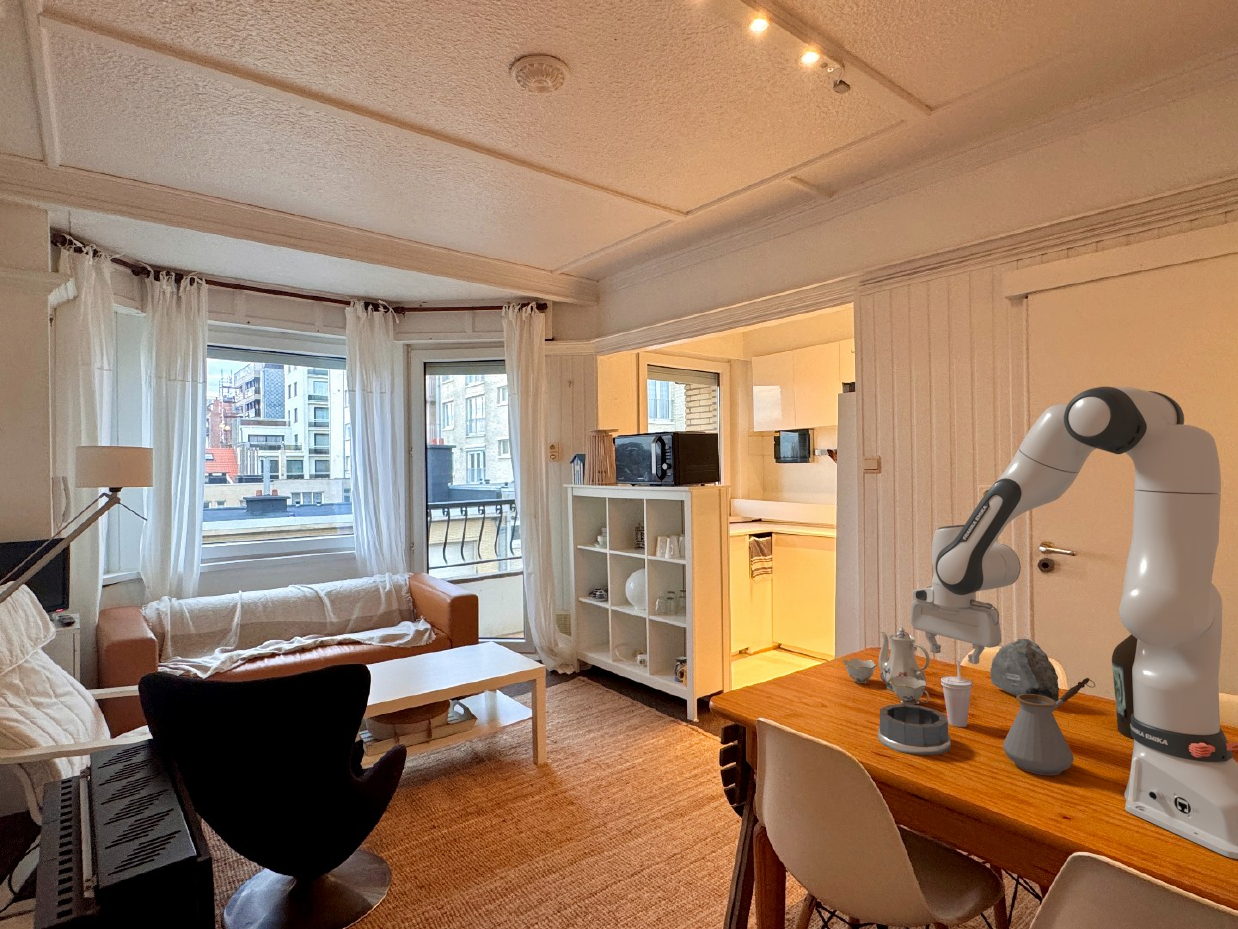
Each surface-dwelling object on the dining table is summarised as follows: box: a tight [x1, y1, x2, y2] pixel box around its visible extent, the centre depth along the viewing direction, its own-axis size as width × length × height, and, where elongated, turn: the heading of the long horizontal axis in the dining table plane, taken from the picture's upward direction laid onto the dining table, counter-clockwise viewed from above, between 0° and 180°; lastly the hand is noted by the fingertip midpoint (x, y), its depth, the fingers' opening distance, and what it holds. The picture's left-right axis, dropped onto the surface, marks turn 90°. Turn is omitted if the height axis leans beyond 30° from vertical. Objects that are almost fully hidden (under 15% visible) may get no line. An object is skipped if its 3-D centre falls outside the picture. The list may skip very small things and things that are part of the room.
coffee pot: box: [1002, 677, 1096, 776], centre depth 128 cm, size 21×12×15 cm, turn 111°
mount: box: [877, 703, 952, 757], centre depth 139 cm, size 14×14×6 cm
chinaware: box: [842, 626, 931, 705], centre depth 171 cm, size 28×17×17 cm, turn 25°
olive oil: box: [1111, 634, 1138, 740], centre depth 140 cm, size 11×11×25 cm
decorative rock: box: [989, 638, 1060, 702], centre depth 163 cm, size 16×7×15 cm, turn 14°
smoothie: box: [940, 660, 973, 728], centre depth 148 cm, size 6×6×14 cm
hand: (954, 657), depth 148 cm, fingers open, 8 cm apart
